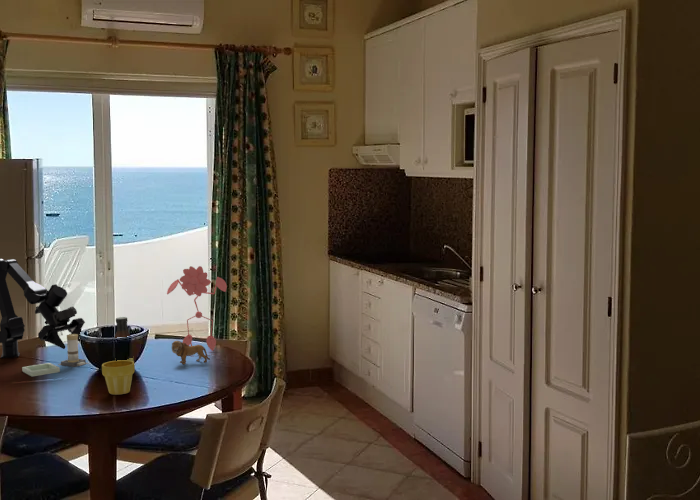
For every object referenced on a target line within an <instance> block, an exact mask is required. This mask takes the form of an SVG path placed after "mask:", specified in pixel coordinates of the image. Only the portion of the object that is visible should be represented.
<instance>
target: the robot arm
mask: <svg viewBox="0 0 700 500" xmlns="http://www.w3.org/2000/svg"><path fill="white" fill-rule="evenodd" d="M7 275H9V276H10V277H11V278H12V279H13V281H15V282H16V284H18V286H19V287H20V288H21V289H22V291H23V296H24V297H25V299H26V301H27V302H28V303H29V304H30V305H37V304H38V305H37V306H35V310H34V314H35V315H36V314H40V315H41V316H42V317H43V319H44V320H45V321H44V324H45V325H43V327H42V328H41V329H40V331H39V332H38V333H37V334H38V335H37V336H38V338H39V340H40V341H44V342H48V343H50V344H52V345H55V346H56V347H59V348H60V349H63V350H65V349H66V347H67V346H66V345H65V343H64V341H63V340H62V339H61V337H60V335H59V332H65V331H68V332H69V333H70V334H78V343H80V339H79V334H80V332H82V328H83V327H84V324H85V323H86V322H85V320H84V318H82V317H78V318H74V319H72V320H70V319H71V318H73V317H76V314H78V311H77V308H75V306H70V307H68V308H66V309H63V310H60V311H59V310H58V308H57V307H60V306H61V305H62V303H63V301H64V300H65V299H66V298H67V296H68V292H67V290H66V289H65V288H64V287H62V286H58V285H57V284H52V285H51V286H50V287H49V289H47V288H45V287H44V286H43V285H42V284H40V283H37V282H35V281H34V280H33V279H32V278H31V277H30V276H29V274H28V273H27V272H26V271H25V270H24V268H22V267H21V266H20V264H19V263H18V260H16V259H14V258H10V259H3V258H1V257H0V315H1V319H0V344H1V346H2V347H1V348H2V353H1V356H0V358H1V359H9V358H19V356H20V352H19V343H18V342H19V340H23V338H24V335H25V334H24V332H25V331H26V330H25V327H26V324H24V320H23V317H22V316H19V315H17V314H16V312H15V309H14V305H13V302H12V297H11V295H10V290H9V287H8V282H7V280H6V279H7ZM69 322H70V323H69Z"/></svg>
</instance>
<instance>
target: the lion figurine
mask: <svg viewBox="0 0 700 500" xmlns="http://www.w3.org/2000/svg"><path fill="white" fill-rule="evenodd" d="M182 342H183V341H179V340H174V341H173V342H171V351H172V353H173V354H175V355H176V356H177V357H180V360H181V361H179V363H180V364H182V365H185V364H187V357H192V356H195V355H196V354H197V357H198V359H196V362H200V361H201V359H204V360H203V363H207V362H208V360H210V361H211V358H210V357H208V356H209V355H208V354H207V353H208V352H207V350H206V348H205V347H204V346H203V345H202V344H196V345H192V346H191V345H189V346H188V345H187V344H185V343H182ZM205 355H206V356H205ZM207 355H208V356H207Z"/></svg>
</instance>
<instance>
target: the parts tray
mask: <svg viewBox="0 0 700 500" xmlns="http://www.w3.org/2000/svg"><path fill="white" fill-rule="evenodd" d="M60 368H61V367H59V366H58V365H55V364H53V363H51V362H46V363H40V364H33V365H28V366H22V367H21V369H22V372H23V373H24V374H26V375H28V376H29V377H37V376H43V375H49V374H57V373H60V372H61V369H60Z"/></svg>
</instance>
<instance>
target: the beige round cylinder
mask: <svg viewBox="0 0 700 500" xmlns="http://www.w3.org/2000/svg"><path fill="white" fill-rule="evenodd" d="M66 343H67V346H66V347H67V360H68V362H72V363H74V362H77V361H79V359H80V357H79V341H78V334H71V333H70V334H67V335H66Z"/></svg>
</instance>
